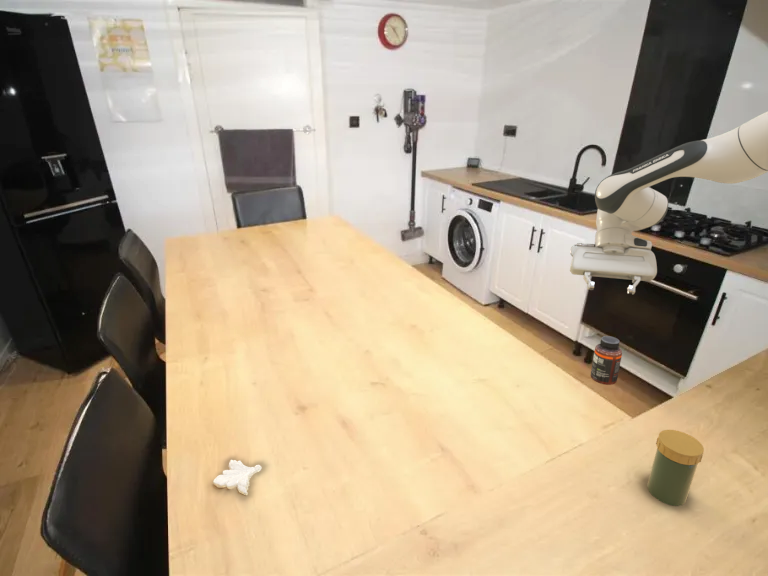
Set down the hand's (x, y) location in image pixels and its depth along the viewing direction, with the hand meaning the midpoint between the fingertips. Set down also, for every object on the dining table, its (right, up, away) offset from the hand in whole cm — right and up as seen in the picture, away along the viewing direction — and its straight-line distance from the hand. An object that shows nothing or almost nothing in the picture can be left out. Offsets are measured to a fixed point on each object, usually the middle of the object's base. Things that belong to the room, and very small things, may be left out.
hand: (610, 291), depth 107 cm
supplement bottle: (-4, -22, -4) cm, 23 cm away
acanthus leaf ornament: (-86, -35, -31) cm, 98 cm away
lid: (-11, -25, -40) cm, 48 cm away
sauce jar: (-11, -35, -37) cm, 51 cm away
